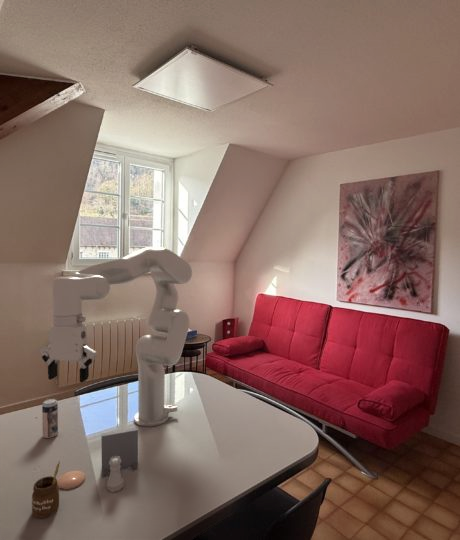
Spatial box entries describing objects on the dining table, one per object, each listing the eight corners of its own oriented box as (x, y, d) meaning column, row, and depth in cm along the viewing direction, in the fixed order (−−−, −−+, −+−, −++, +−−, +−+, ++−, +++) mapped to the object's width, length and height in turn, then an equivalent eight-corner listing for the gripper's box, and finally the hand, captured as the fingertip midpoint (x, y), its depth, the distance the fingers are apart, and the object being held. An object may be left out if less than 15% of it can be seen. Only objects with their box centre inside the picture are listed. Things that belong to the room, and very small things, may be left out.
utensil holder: (38, 501, 92) (38, 456, 91) (64, 501, 92) (63, 455, 92) (27, 519, 86) (26, 470, 85) (54, 518, 87) (53, 470, 86)
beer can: (51, 440, 121) (51, 404, 120) (39, 438, 122) (38, 403, 121) (61, 432, 125) (60, 398, 125) (49, 431, 126) (48, 397, 125)
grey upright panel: (136, 459, 110) (136, 424, 110) (138, 469, 106) (138, 432, 105) (101, 467, 107) (101, 430, 106) (102, 477, 102) (102, 439, 101)
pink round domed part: (84, 470, 105) (84, 468, 105) (85, 485, 98) (85, 483, 98) (58, 475, 102) (57, 473, 102) (56, 491, 96) (56, 489, 96)
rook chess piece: (108, 481, 100) (108, 453, 100) (125, 481, 100) (125, 453, 100) (104, 493, 96) (104, 463, 95) (122, 492, 96) (121, 463, 95)
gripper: (102, 319, 106) (103, 377, 107) (48, 316, 108) (49, 372, 110) (88, 324, 98) (89, 386, 99) (30, 321, 101) (32, 381, 102)
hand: (68, 379), depth 104 cm, fingers open, 9 cm apart
